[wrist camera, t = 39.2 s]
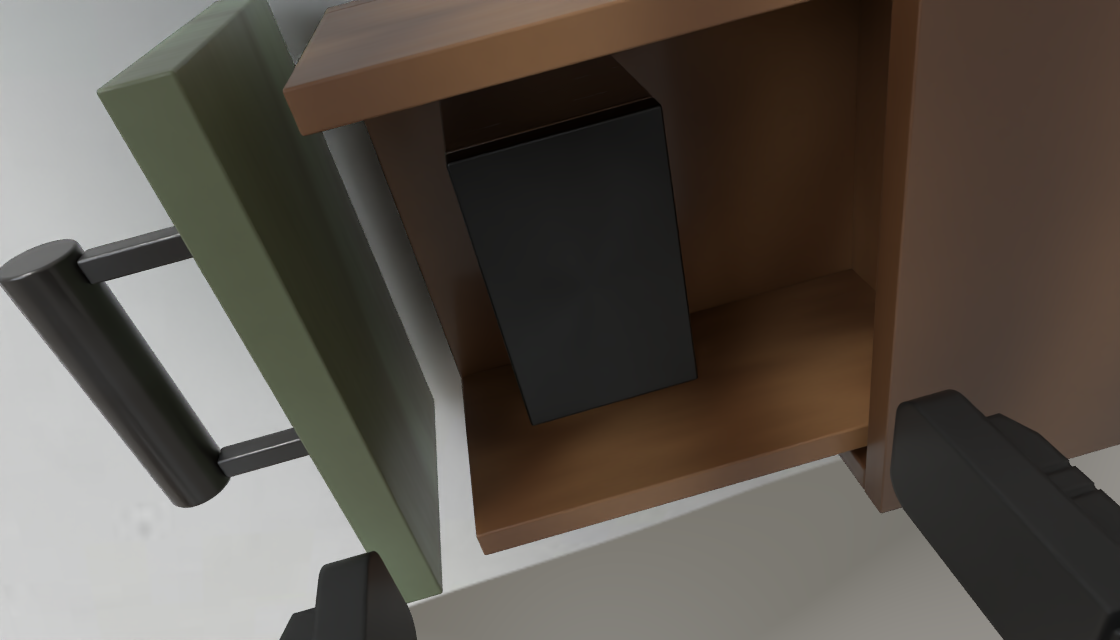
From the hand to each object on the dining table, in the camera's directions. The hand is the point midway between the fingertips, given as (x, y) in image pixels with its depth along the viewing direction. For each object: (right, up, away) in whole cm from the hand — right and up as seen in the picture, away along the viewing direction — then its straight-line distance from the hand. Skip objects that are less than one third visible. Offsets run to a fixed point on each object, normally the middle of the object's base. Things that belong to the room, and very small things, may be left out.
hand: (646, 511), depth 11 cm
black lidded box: (-2, +6, +9) cm, 11 cm away
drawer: (-3, +7, +10) cm, 12 cm away
